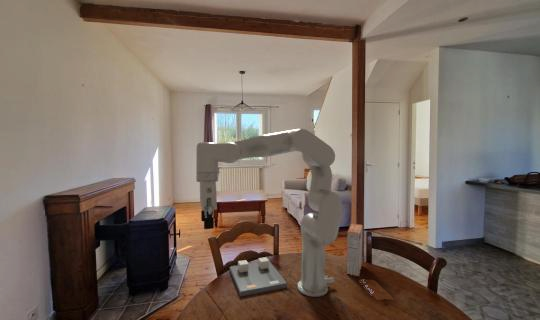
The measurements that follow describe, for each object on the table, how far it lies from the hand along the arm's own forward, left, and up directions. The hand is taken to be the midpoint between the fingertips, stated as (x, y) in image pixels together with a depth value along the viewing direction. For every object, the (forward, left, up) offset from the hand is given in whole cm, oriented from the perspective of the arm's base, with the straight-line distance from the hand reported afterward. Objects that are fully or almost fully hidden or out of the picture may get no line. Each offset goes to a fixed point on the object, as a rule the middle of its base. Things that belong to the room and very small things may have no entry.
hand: (207, 224), depth 88 cm
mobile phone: (-68, +10, -31) cm, 76 cm away
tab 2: (-28, -19, -28) cm, 44 cm away
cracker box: (-71, -7, -31) cm, 78 cm away
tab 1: (-18, -19, -28) cm, 39 cm away
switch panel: (-23, -14, -31) cm, 41 cm away
